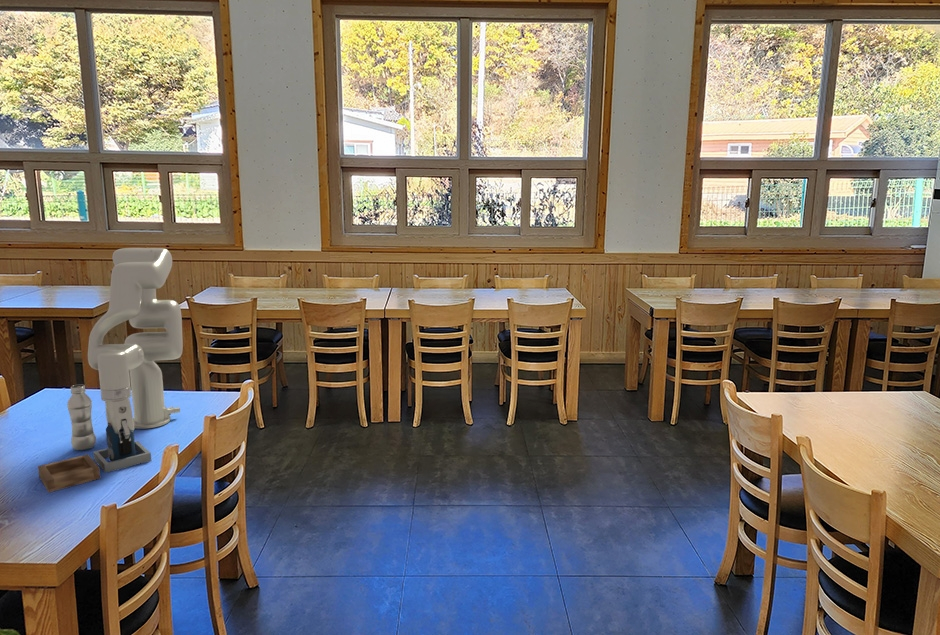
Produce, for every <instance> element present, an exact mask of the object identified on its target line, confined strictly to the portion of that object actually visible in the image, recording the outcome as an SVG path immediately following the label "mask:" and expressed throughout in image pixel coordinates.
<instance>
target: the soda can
mask: <svg viewBox="0 0 940 635" xmlns="http://www.w3.org/2000/svg"><path fill="white" fill-rule="evenodd" d="M128 428H129V427H128ZM119 431H120V432H123V429H120V430H119ZM129 431H130V438H131V447H132V453H131V454H128V455H124V456H120V455H119V447H118V443H120V442H119V438H118V434H116V433H115V432H114V430H113V427H112V425H110V424H109V422H108V424H107V425H106V428H105V435H106V436H105V437H106V443H107V444H106V445H107V448H108V456H109V457H108V460H109V462H112V461H116V460H120V459H123V458H127V457H131V456H135V455H137V454H136V452H137V451H135V442H136V441H135V432H134V430H133V431H131V430H130V429H129ZM123 435H124V434H121V438H122V436H123Z"/></svg>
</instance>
